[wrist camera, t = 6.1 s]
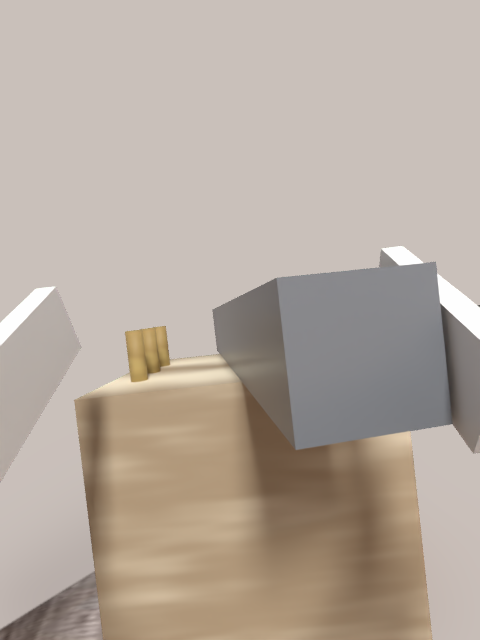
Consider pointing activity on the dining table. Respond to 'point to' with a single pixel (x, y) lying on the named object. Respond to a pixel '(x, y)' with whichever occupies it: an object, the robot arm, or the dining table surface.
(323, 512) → the shelf stand
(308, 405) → the bar
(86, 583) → the dining table surface
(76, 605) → the dining table surface
